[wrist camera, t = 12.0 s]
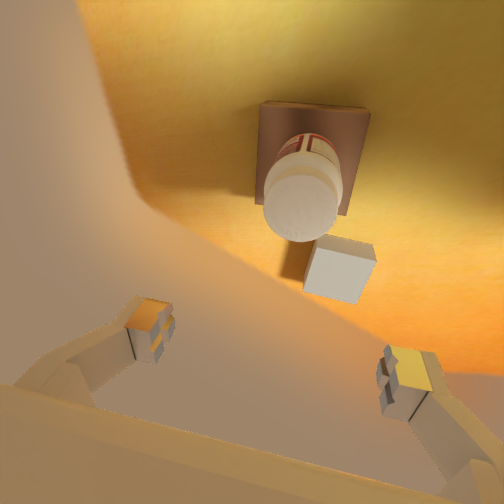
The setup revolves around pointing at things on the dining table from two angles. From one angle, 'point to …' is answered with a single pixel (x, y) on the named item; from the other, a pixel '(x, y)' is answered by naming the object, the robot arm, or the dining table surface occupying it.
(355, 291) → the grey block
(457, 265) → the dining table surface
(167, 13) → the dining table surface
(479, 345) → the dining table surface
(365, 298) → the dining table surface
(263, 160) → the walnut block
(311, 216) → the pill bottle
